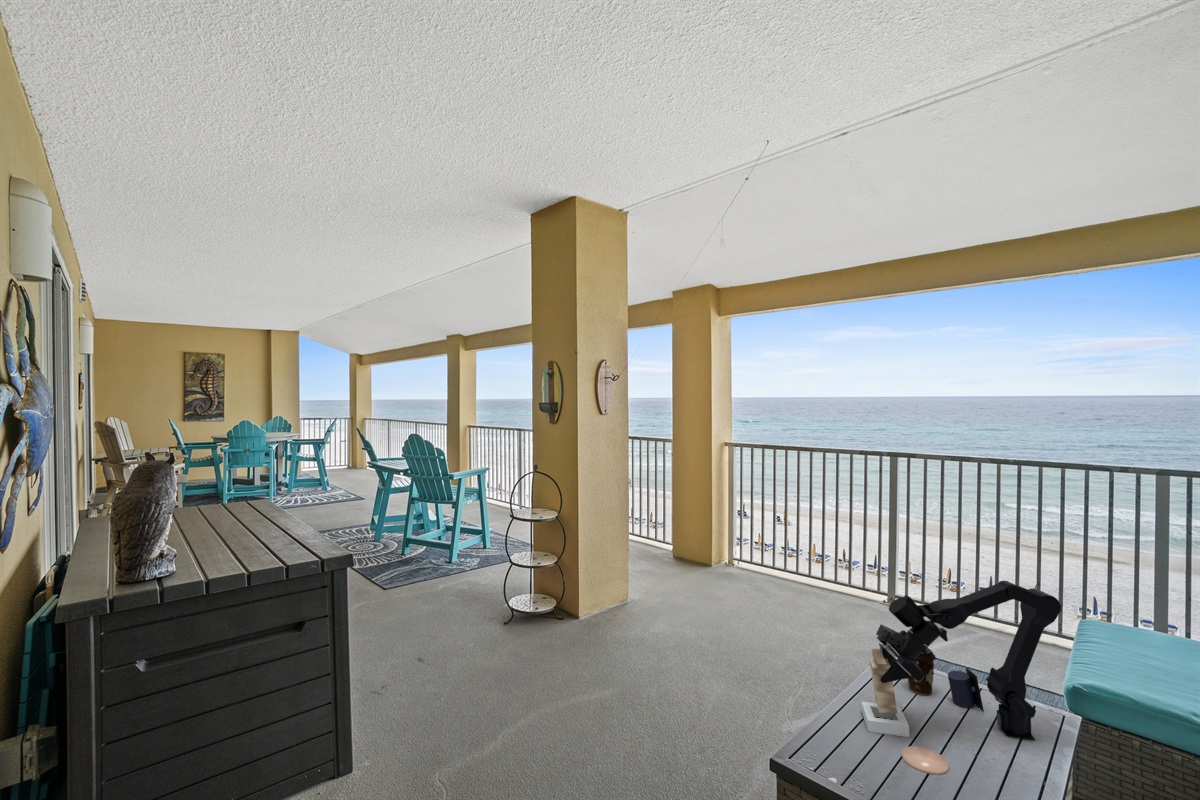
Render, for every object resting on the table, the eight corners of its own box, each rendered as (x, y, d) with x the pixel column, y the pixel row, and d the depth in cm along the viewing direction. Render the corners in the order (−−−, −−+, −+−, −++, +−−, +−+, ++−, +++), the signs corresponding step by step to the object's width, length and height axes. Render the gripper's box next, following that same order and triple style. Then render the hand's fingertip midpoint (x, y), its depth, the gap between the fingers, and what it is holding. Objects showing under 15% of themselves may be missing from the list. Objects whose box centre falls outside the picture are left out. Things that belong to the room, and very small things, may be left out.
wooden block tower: (891, 699, 152) (884, 648, 151) (899, 717, 144) (891, 664, 144) (874, 699, 153) (867, 648, 153) (880, 716, 145) (873, 664, 145)
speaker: (981, 701, 158) (975, 666, 159) (984, 712, 153) (978, 676, 154) (951, 698, 162) (945, 664, 162) (953, 708, 157) (947, 673, 157)
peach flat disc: (941, 752, 135) (941, 749, 135) (955, 777, 126) (955, 775, 126) (897, 745, 138) (897, 743, 138) (907, 770, 129) (907, 767, 129)
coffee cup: (933, 686, 168) (931, 644, 169) (940, 699, 160) (938, 656, 161) (902, 682, 171) (900, 641, 172) (907, 695, 163) (906, 652, 164)
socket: (899, 717, 151) (899, 706, 151) (909, 737, 142) (909, 725, 142) (861, 712, 154) (861, 701, 154) (868, 731, 145) (868, 720, 145)
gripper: (882, 605, 158) (845, 641, 159) (909, 630, 139) (866, 670, 141) (912, 633, 156) (874, 669, 158) (943, 662, 138) (899, 702, 139)
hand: (877, 676), depth 149 cm, fingers closed on wooden block tower, 6 cm apart
